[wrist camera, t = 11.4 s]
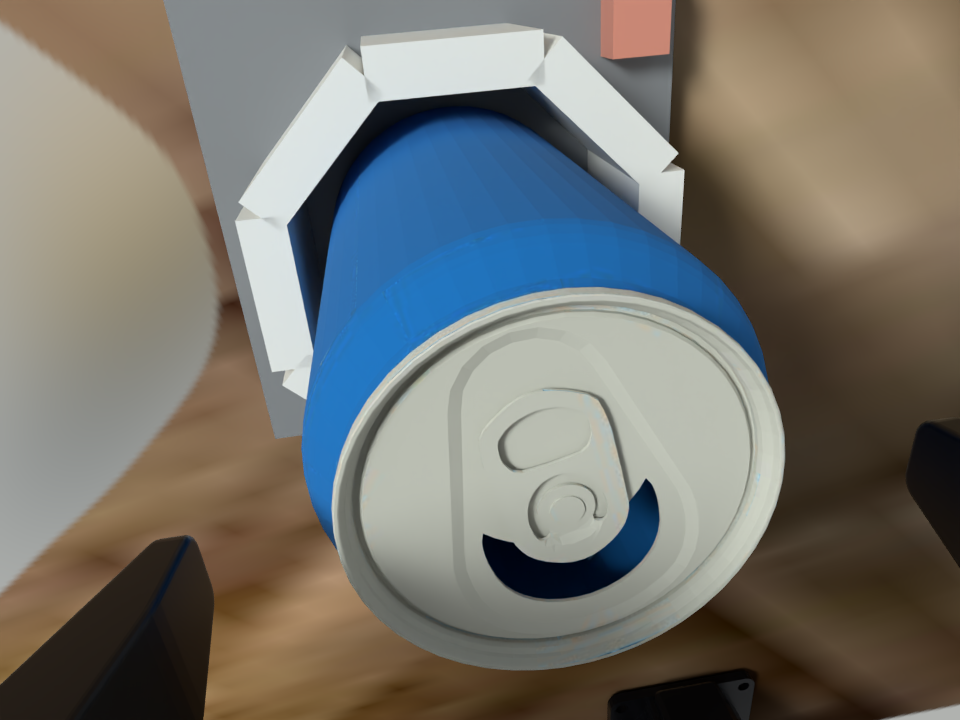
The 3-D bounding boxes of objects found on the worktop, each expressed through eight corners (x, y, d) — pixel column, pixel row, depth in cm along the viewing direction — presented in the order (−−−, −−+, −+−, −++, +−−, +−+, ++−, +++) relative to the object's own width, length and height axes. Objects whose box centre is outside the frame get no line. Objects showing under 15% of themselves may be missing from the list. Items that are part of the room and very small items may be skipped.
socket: (646, 369, 23) (712, 455, 19) (279, 421, 22) (257, 525, 18) (662, -49, 18) (761, -64, 13) (172, -8, 17) (102, -10, 12)
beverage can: (385, 364, 21) (406, 746, 10) (293, 151, 18) (185, 378, 7) (593, 293, 21) (834, 601, 10) (538, 65, 18) (800, 165, 7)
